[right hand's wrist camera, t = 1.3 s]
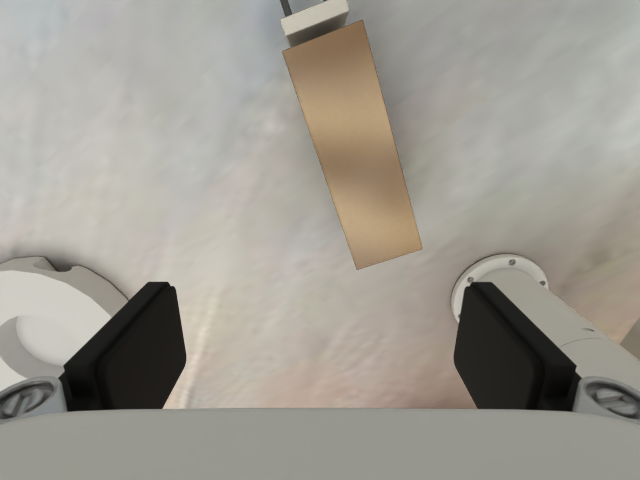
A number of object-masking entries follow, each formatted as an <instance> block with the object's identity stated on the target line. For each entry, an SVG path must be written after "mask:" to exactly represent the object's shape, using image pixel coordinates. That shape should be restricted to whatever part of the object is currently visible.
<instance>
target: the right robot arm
mask: <svg viewBox="0 0 640 480" xmlns="http://www.w3.org/2000/svg"><path fill="white" fill-rule="evenodd" d="M451 308H452V313H453V315H454V317H455V319H456V321H457V322H458V324H459V326H458V332H457V338H456V344H455V351H454V364H455V367H456V369H457V371H458V373H459V374H460V376H461V378H462V380H463V382H464V384H465V386H466V388H467V389H468V391H469V393H470V395H471V397H472V399H473V401H474V403H475V404H476V406H477V408H478V409H417V408H218V409H162V408H163V406H164V404H165V403H166V401H167V399H168V397H169V395H170V393H171V391H172V389H173V388H174V386H175V384H176V382H177V380H178V378H179V376H180V374H181V373H182V371H183V369H184V367H185V364H186V351H185V344H184V338H183V332H182V326H181V319H180V313H179V307H178V300H177V294H176V289H175V287H174V286H170V284H169V283H168V282H148V283H147V284H146V285H145V286H144V287H143V288H142V289H140V290H139V291H138V292H137V293H136V294H135V295H134V296H133V297H132V298H131V299H130V300H129V301H128V302H127V303H126V304H125V305H124V306H123V307H122V308H121V309H120V310H119V311H118V312H117V313H116V314H115V315H114V316H113V317H112V318H111V319H110V320H109V321H108V322H107V323H106V324H105V325H104V326H103V327H102V328H101V329H100V330H99V331H98V332H97V333H96V334H95V335H94V336H93V337H92V338H91V339H90V340H89V341H88V342H87V343H86V344H85V345H84V346H83V347H82V348H81V349H80V350H79V351H78V352H77V353H76V354H74V355H73V356H72V357H71V358H70V359H69V360H68V361H67V362H66V363H65V364H64V365H63V367H64V370H65V371H64V372H63V373H62V374H61V375H60V376H59V378H55V377H53V376H40V377H33V378H30V379H26V380H23V381H20V382H18V383H16V384H13V385H11V386H9V387H7V388H6V389H4V390H2V391H0V480H640V360H638V359H637V358H636V357H634V356H633V355H632V354H631V353H629V352H628V351H627V350H625V349H624V348H623V347H621V346H620V345H619V344H618V343H616V342H615V341H614V340H612V339H611V338H610V337H609V336H607V335H606V334H605V333H603V332H602V331H601V330H599V329H598V328H597V327H596V326H594V325H593V324H592V323H590V322H589V321H588V320H587V319H585V318H584V317H583V316H581V315H580V314H579V313H578V312H576V311H575V310H574V309H572V308H571V307H570V306H569V305H567V304H566V303H565V302H563V301H562V300H561V299H559V298H558V297H557V296H556V295H554V294H553V293H552V292H550V291H549V287H548V281H547V278H546V276H545V274H544V273H543V271H542V270H541V269H540V268H539V267H538V266H537V265H536V264H535V263H533V262H532V261H530V260H529V259H527V258H524V257H522V256H519V255H514V254H500V255H494V256H491V257H488V258H485V259H483V260H481V261H479V262H477V263H475V264H474V265H472V266H471V267H470V268H468V269H467V270H466V271H465V272H464V273H463V274H462V275H461V277H460V278H459V280H458V281H457V283H456V285H455V287H454V289H453V292H452V297H451Z"/></svg>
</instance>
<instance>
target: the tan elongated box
mask: <svg viewBox="0 0 640 480" xmlns="http://www.w3.org/2000/svg"><path fill="white" fill-rule="evenodd" d="M282 53H283V56H284V59H285V61H286V64H287V67H288V70H289V73H290V76H291V79H292V82H293V85H294V88H295V91H296V94H297V97H298V99H299V102H300V105H301V108H302V111H303V114H304V117H305V120H306V123H307V126H308V129H309V132H310V135H311V137H312V140H313V143H314V146H315V149H316V152H317V155H318V158H319V161H320V164H321V167H322V170H323V173H324V175H325V178H326V181H327V184H328V187H329V190H330V193H331V196H332V199H333V202H334V205H335V208H336V211H337V213H338V216H339V219H340V222H341V225H342V228H343V231H344V234H345V237H346V240H347V243H348V246H349V248H350V251H351V254H352V257H353V260H354V263H355V266H356V269H357V270H358V269H361V268H365V267H368V266H371V265H374V264H377V263H380V262H383V261H387V260H390V259H393V258H396V257H399V256H402V255H405V254H409V253H412V252H415V251H418V250H421V249H422V245H421V241H420V237H419V233H418V230H417V226H416V222H415V218H414V214H413V210H412V207H411V203H410V199H409V195H408V191H407V187H406V184H405V180H404V176H403V172H402V168H401V164H400V161H399V157H398V153H397V149H396V145H395V141H394V138H393V134H392V130H391V126H390V122H389V118H388V115H387V111H386V107H385V103H384V99H383V95H382V91H381V88H380V84H379V80H378V76H377V72H376V68H375V65H374V61H373V57H372V53H371V49H370V45H369V42H368V38H367V34H366V30H365V26H364V22H363V20H360V21H358V22H355V23H353V24H350V25H348V26H345V27H343V28H340V29H337V30H335V31H332V32H330V33H327V34H325V35H322V36H320V37H317V38H315V39H312V40H309V41H307V42H304V43H302V44H299V45H297V46H294V47H292V48H289V49H287V50H284V51H282Z"/></svg>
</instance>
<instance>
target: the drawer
mask: <svg viewBox="0 0 640 480" xmlns="http://www.w3.org/2000/svg"><path fill="white" fill-rule="evenodd" d="M280 1H281V4H282V7H283V10H284V13H285V16H286V17H285V18H282V19H281V20H280V21H281V24H282V27H283V30H284V33H285V36H286V39H287V41H288V44H289V47H290V48H292V47H294V46H297V45H299V44H302V43H304V42H307V41H309V40H312V39H315V38H317V37H320V36H322V35H325V34H327V33H330V32H332V31H335V30H337V29H340V28H343V26H344V24H345V21H346V18H347V16H348V13H349V6H348V2H347V0H323V1H324V2H322V3H320V4H317V5H315V6H312V7H310V8H307V9H305V10H302V11H300V12H297V13H295V14H292V13H291V10H290V6H289V3H288V0H280Z"/></svg>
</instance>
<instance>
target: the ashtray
mask: <svg viewBox="0 0 640 480" xmlns="http://www.w3.org/2000/svg"><path fill="white" fill-rule="evenodd" d="M127 302H128V300H127V299H126V297H124V296H123V295H122V294H121V293H120V292H119V291H118V290H117V289H116V288H115V287H114V286H113V285H112V284H111V283H110V282H108V281H107V280H105V279H103V278H102V277H100V276H99V275H97V274H95V273H94V272H92V271H90V270H89V269H87V268H84V267H81V266H79V265H77V266H74V267H72V269H71V270H70V271H67V272H57V271H56V270H55V269H54V268H53V267H52V266H51V264H50V263H49V262H48V261H47V260H46V259H45V258H44V257H38V256H36V257H26V258H16V259H12V260H9V261H7V262H4V263H2V264H0V391H2V390H4V389H6V388H7V387H9V386H11V385H13V384H16V383H18V382H20V381H23V380H26V379H30V378H33V377H40V376H53V377H55V378H59V376H60V375H61V374H62V373H63V372H64V371H65V370H64V367H63V365H64V364H65V363H66V362H67V361H68V360H69V359H70V358H71V357H72V356H73V355H74V354H76V353H77V352H78V351H79V350H80V349H81V348H82V347H83V346H84V345H85V344H86V343H87V342H88V341H89V340H90V339H91V338H92V337H93V336H94V335H95V334H96V333H97V332H98V331H99V330H100V329H101V328H102V327H103V326H104V325H105V324H106V323H107V322H108V321H109V320H110V319H111V318H112V317H113V316H114V315H115V314H116V313H117V312H118V311H119V310H120V309H121V308H122V307H123V306H124V305H125V304H126V303H127Z"/></svg>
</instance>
